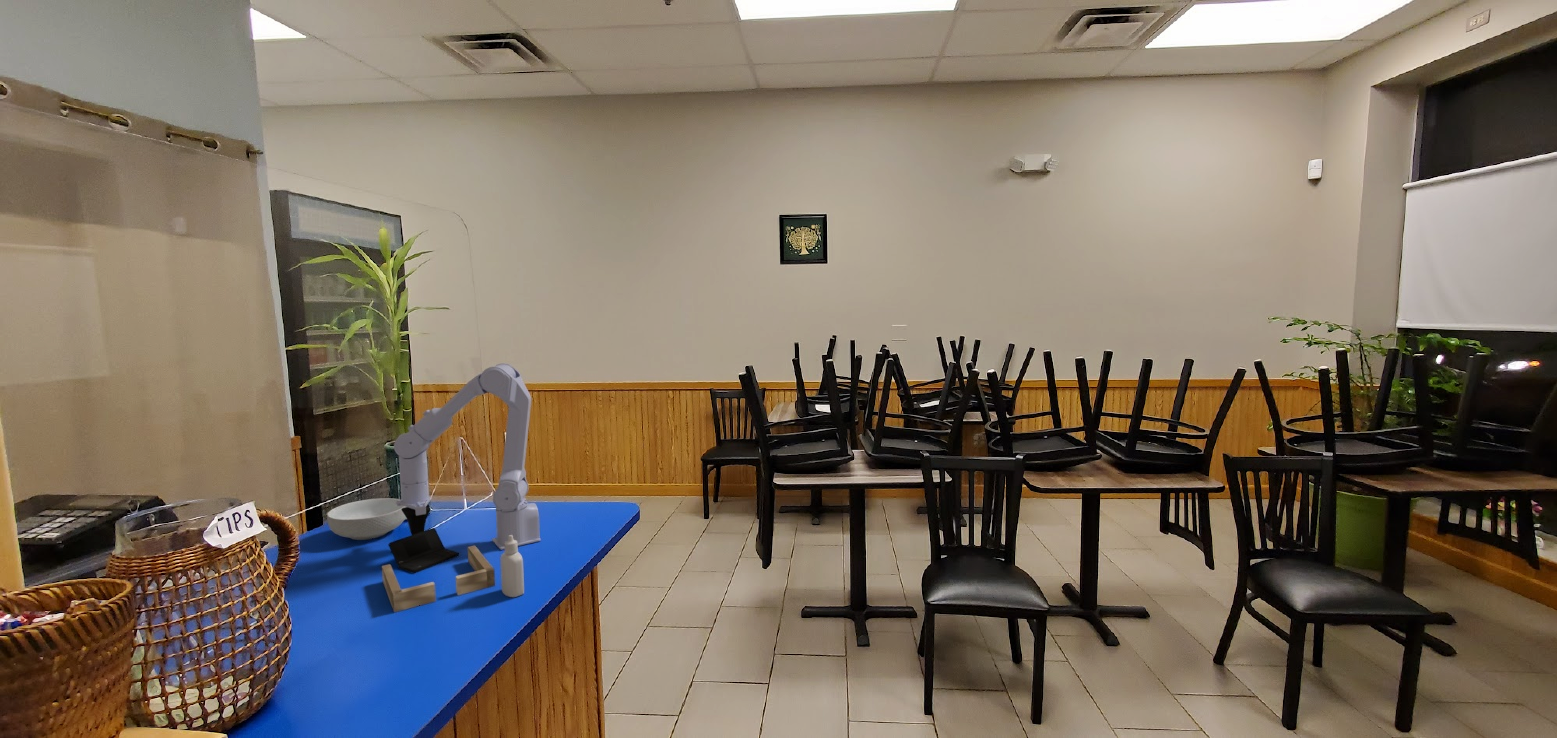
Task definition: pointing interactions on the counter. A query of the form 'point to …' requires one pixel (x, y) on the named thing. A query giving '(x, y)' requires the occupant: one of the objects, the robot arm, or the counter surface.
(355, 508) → the cereal bowl
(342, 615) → the counter surface
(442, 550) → the handheld gaming console
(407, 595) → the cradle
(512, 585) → the eye dropper bottle
